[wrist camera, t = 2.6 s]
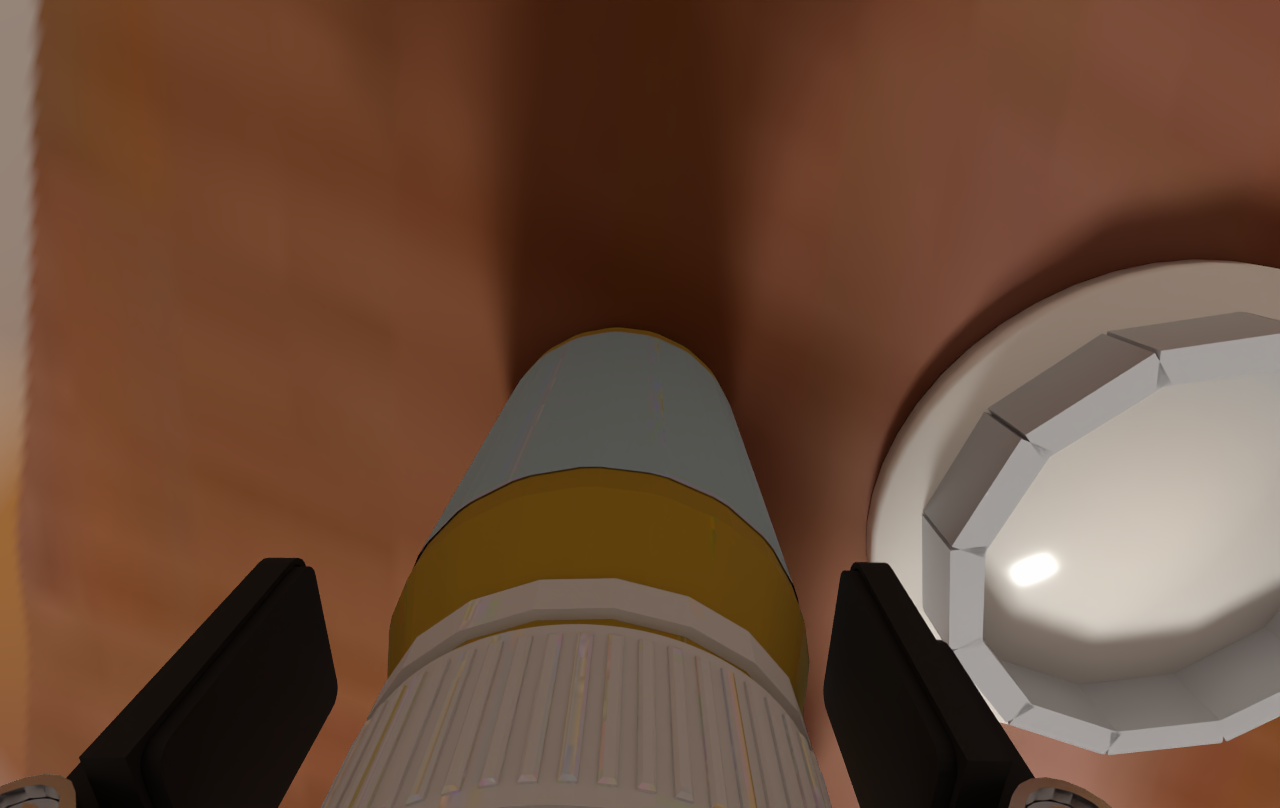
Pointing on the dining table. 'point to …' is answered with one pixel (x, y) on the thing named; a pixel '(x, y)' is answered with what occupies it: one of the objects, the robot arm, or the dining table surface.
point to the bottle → (597, 610)
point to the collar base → (1104, 509)
